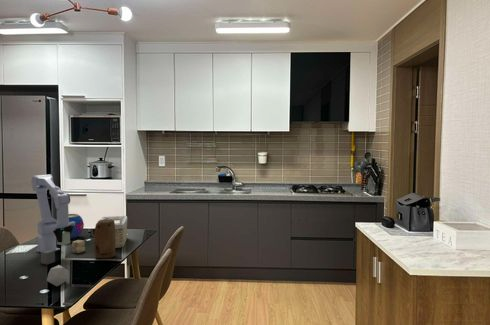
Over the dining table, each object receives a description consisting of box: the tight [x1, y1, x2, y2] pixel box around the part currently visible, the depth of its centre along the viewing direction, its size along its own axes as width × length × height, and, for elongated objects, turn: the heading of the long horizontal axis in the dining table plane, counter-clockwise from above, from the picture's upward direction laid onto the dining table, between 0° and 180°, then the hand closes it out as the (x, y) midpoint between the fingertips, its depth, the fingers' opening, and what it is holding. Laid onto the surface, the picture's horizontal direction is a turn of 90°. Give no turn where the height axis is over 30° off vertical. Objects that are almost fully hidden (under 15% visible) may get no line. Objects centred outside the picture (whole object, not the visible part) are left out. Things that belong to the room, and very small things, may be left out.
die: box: [46, 264, 70, 287], centre depth 160 cm, size 8×9×10 cm
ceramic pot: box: [56, 213, 85, 240], centre depth 235 cm, size 18×18×15 cm
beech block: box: [71, 239, 86, 254], centre depth 207 cm, size 4×4×6 cm
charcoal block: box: [40, 250, 56, 265], centre depth 188 cm, size 4×4×6 cm
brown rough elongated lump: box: [93, 219, 116, 259], centre depth 197 cm, size 11×8×20 cm
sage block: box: [56, 231, 71, 246], centre depth 197 cm, size 4×4×6 cm
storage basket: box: [99, 215, 128, 249], centre depth 223 cm, size 24×16×15 cm
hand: (63, 240), depth 197 cm, fingers closed on sage block, 4 cm apart
